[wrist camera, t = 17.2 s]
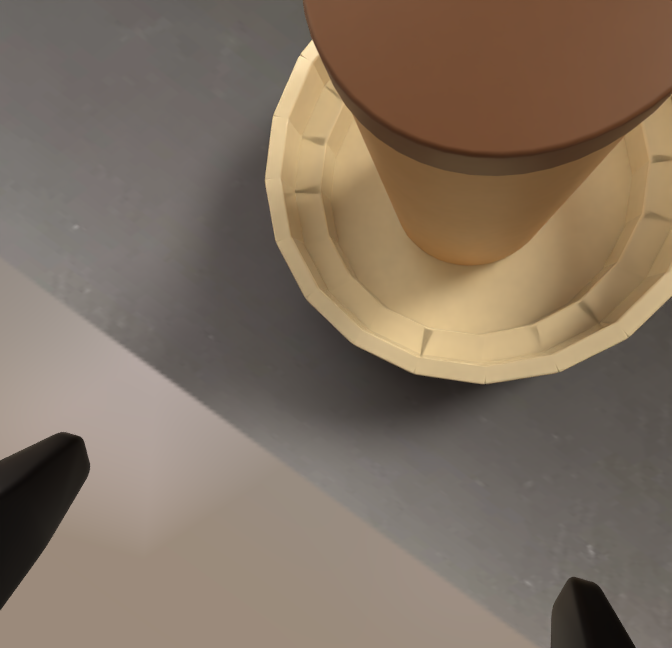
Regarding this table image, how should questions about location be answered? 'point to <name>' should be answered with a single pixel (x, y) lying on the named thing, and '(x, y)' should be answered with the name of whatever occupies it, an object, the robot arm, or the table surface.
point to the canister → (491, 104)
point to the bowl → (460, 280)
